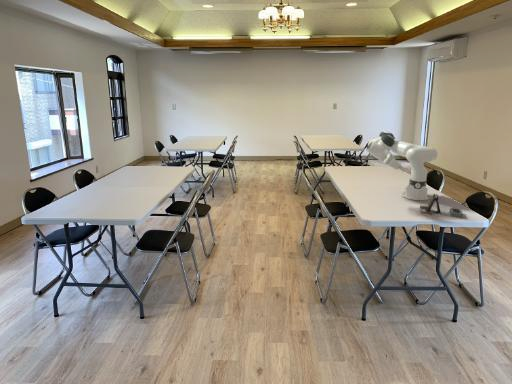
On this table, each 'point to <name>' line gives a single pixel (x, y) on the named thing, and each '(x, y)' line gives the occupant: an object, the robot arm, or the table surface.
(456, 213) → the pit tray
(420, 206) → the walled lane
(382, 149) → the robot arm
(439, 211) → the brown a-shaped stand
